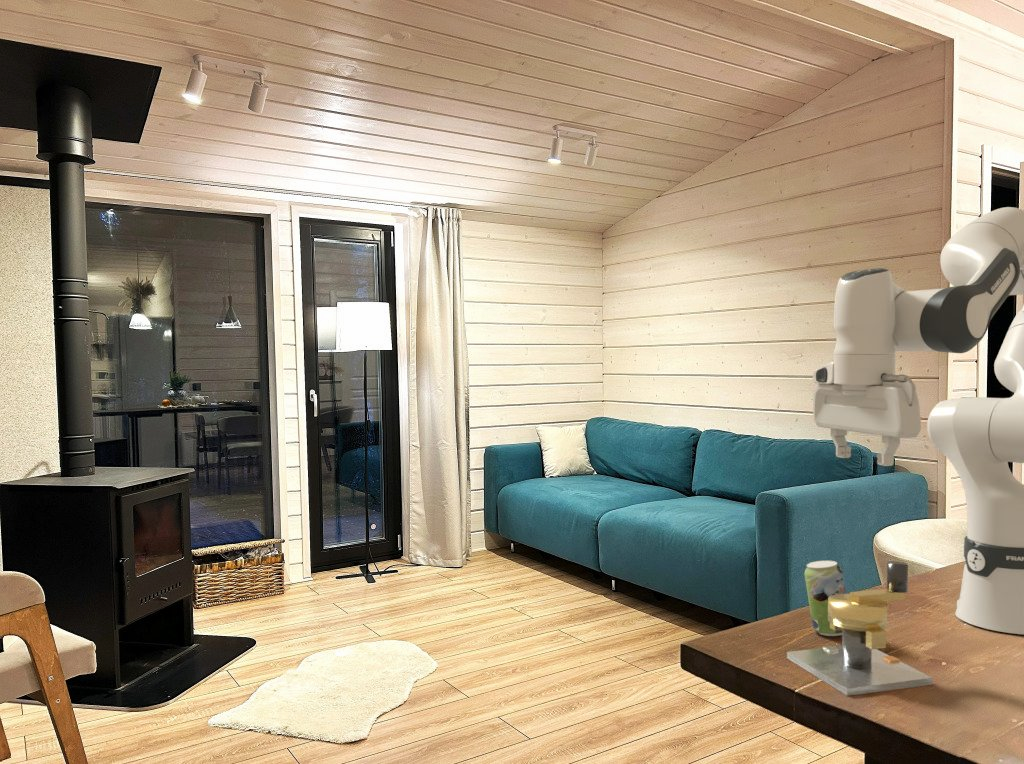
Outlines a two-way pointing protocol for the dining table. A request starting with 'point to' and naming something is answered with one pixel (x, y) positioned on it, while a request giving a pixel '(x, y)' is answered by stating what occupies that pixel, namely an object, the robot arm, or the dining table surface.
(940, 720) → the dining table surface
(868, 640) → the brass crank handle
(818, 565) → the beverage can
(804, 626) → the dining table surface
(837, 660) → the post plate
